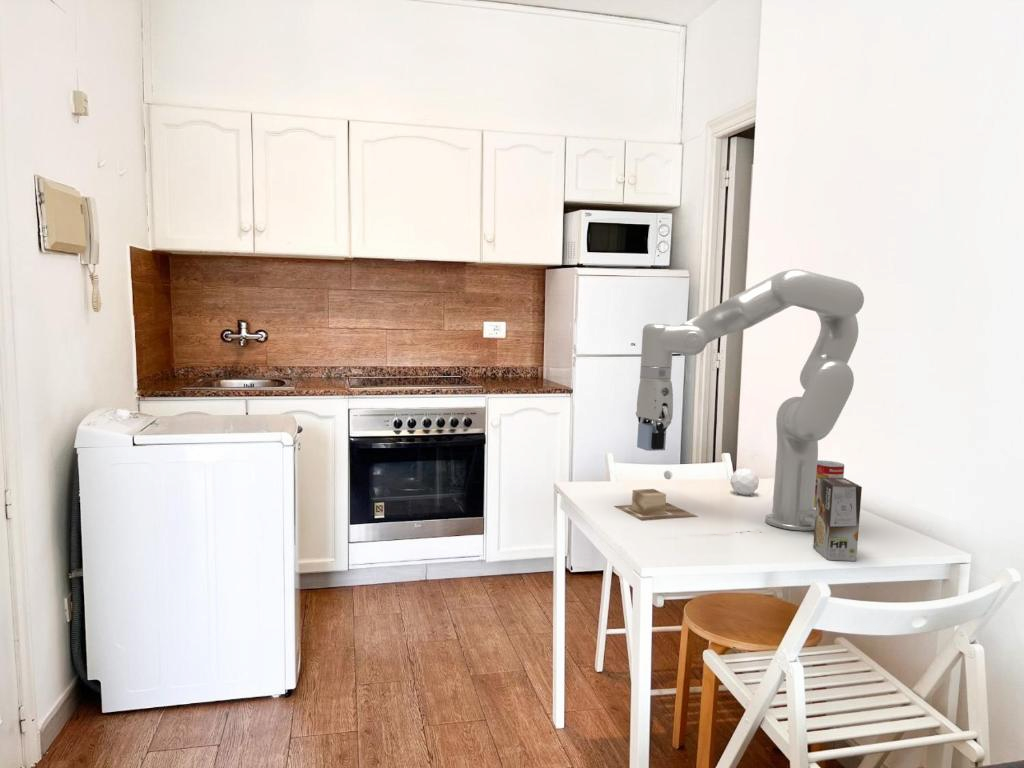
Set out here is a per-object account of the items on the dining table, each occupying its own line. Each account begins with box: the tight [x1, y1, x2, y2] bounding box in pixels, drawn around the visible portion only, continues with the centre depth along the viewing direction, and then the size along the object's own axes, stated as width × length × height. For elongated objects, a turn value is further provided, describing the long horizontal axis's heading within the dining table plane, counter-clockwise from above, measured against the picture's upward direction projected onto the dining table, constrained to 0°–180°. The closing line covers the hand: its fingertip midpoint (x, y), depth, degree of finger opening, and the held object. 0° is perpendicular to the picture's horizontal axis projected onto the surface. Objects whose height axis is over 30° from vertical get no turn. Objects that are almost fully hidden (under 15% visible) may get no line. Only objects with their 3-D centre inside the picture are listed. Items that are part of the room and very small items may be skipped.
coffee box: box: [812, 477, 863, 562], centre depth 162 cm, size 9×6×16 cm
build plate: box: [613, 502, 699, 522], centre depth 189 cm, size 14×16×1 cm
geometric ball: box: [730, 467, 760, 496], centre depth 217 cm, size 8×8×8 cm
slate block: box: [636, 422, 667, 452], centre depth 187 cm, size 5×5×6 cm
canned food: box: [814, 459, 845, 508], centre depth 206 cm, size 8×8×12 cm
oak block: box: [631, 488, 667, 515], centre depth 188 cm, size 6×6×5 cm
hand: (651, 446), depth 187 cm, fingers closed on slate block, 5 cm apart
